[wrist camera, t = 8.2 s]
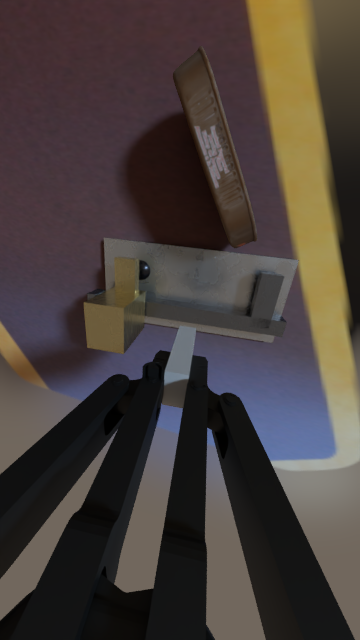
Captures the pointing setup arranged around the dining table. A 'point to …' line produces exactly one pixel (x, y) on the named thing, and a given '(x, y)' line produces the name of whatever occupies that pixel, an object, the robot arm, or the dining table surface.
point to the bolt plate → (199, 278)
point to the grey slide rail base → (225, 309)
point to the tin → (215, 147)
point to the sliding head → (117, 310)
